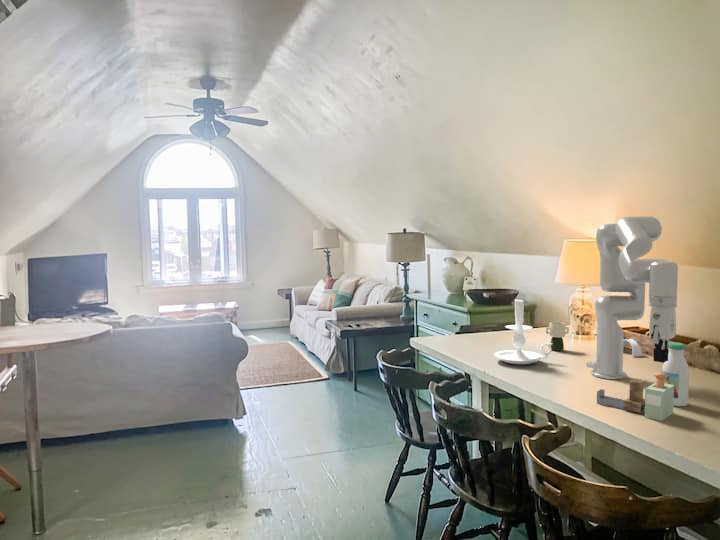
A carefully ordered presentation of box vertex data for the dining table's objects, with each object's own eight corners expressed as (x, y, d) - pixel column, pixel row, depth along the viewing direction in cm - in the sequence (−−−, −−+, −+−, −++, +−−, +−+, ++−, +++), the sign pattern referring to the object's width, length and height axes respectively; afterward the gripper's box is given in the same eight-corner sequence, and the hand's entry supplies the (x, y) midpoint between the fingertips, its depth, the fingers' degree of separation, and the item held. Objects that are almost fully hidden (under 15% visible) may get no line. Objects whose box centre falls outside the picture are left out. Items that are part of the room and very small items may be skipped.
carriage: (623, 409, 175) (624, 381, 174) (631, 404, 179) (632, 378, 179) (640, 412, 171) (641, 385, 171) (647, 408, 176) (648, 381, 175)
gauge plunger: (652, 395, 170) (653, 374, 170) (656, 393, 172) (656, 372, 172) (663, 397, 168) (664, 375, 167) (666, 395, 170) (667, 374, 169)
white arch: (595, 347, 269) (595, 332, 269) (616, 346, 272) (616, 331, 271) (626, 358, 246) (627, 342, 246) (650, 357, 248) (650, 341, 248)
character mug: (565, 348, 266) (566, 321, 265) (571, 351, 259) (571, 324, 258) (543, 348, 266) (543, 322, 265) (548, 351, 259) (548, 324, 258)
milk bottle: (678, 399, 186) (680, 341, 184) (693, 406, 178) (695, 345, 177) (656, 400, 186) (658, 341, 184) (669, 407, 178) (672, 346, 176)
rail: (596, 403, 182) (596, 391, 182) (601, 400, 185) (601, 389, 185) (648, 414, 171) (648, 402, 171) (652, 411, 173) (652, 399, 173)
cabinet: (644, 417, 168) (644, 388, 168) (655, 409, 176) (656, 381, 175) (661, 421, 165) (662, 392, 164) (673, 413, 172) (674, 385, 171)
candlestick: (559, 368, 228) (560, 301, 226) (498, 368, 229) (499, 301, 227) (545, 357, 248) (546, 295, 246) (490, 356, 250) (490, 295, 248)
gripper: (667, 305, 160) (665, 367, 161) (684, 300, 171) (682, 358, 172) (640, 303, 165) (638, 363, 166) (658, 298, 176) (656, 355, 177)
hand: (660, 360), depth 169 cm, fingers closed
